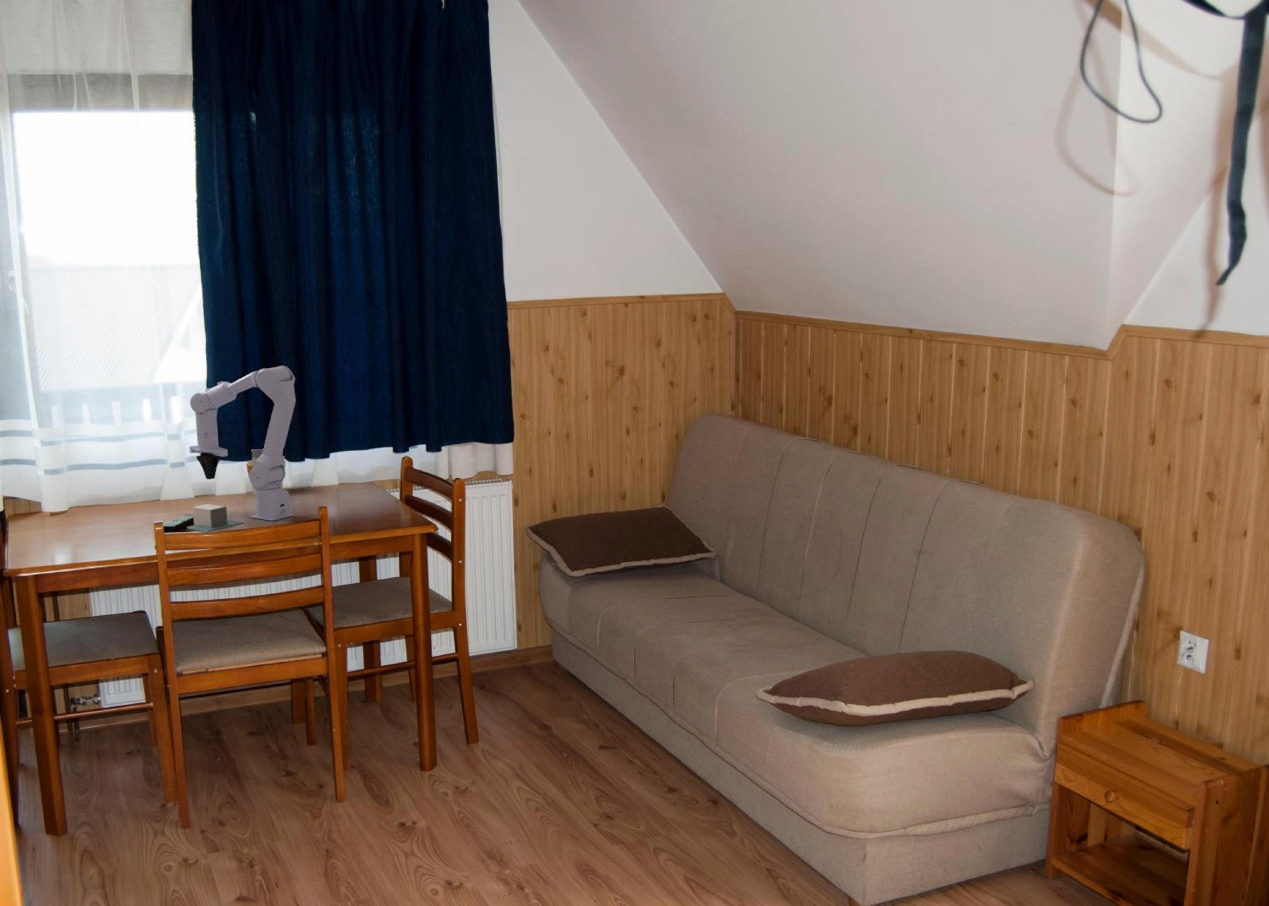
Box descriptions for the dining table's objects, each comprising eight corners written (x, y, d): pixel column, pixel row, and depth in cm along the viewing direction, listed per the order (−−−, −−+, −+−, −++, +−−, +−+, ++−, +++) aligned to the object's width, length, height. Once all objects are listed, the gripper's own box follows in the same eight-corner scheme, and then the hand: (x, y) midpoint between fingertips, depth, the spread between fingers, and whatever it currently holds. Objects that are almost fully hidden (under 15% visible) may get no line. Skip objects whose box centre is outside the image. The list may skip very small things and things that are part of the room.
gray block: (208, 521, 332) (227, 524, 328) (194, 524, 328) (212, 527, 324) (207, 503, 331) (226, 506, 327) (192, 507, 327) (211, 510, 323)
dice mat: (243, 523, 330) (243, 522, 330) (205, 532, 320) (205, 531, 319) (222, 519, 335) (222, 518, 335) (184, 528, 324) (184, 527, 324)
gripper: (179, 433, 341) (183, 478, 343) (212, 436, 333) (215, 483, 335) (199, 430, 346) (203, 474, 349) (232, 433, 339) (235, 479, 341)
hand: (210, 478), depth 342 cm, fingers closed
